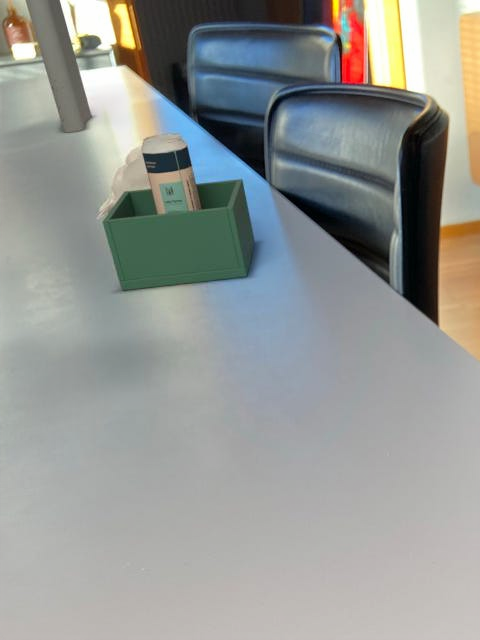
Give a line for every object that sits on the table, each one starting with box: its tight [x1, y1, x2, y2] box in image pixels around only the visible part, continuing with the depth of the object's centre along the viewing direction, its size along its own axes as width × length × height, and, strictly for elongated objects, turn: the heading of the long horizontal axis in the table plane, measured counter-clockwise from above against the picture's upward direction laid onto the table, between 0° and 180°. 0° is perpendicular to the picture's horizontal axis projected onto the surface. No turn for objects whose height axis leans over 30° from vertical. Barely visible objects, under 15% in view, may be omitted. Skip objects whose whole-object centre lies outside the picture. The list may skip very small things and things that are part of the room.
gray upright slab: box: [25, 0, 93, 133], centre depth 191 cm, size 17×5×25 cm, turn 12°
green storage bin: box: [102, 178, 256, 291], centre depth 111 cm, size 13×13×7 cm
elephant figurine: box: [96, 145, 151, 220], centre depth 124 cm, size 10×12×9 cm
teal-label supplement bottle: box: [141, 132, 202, 214], centre depth 109 cm, size 5×5×12 cm
